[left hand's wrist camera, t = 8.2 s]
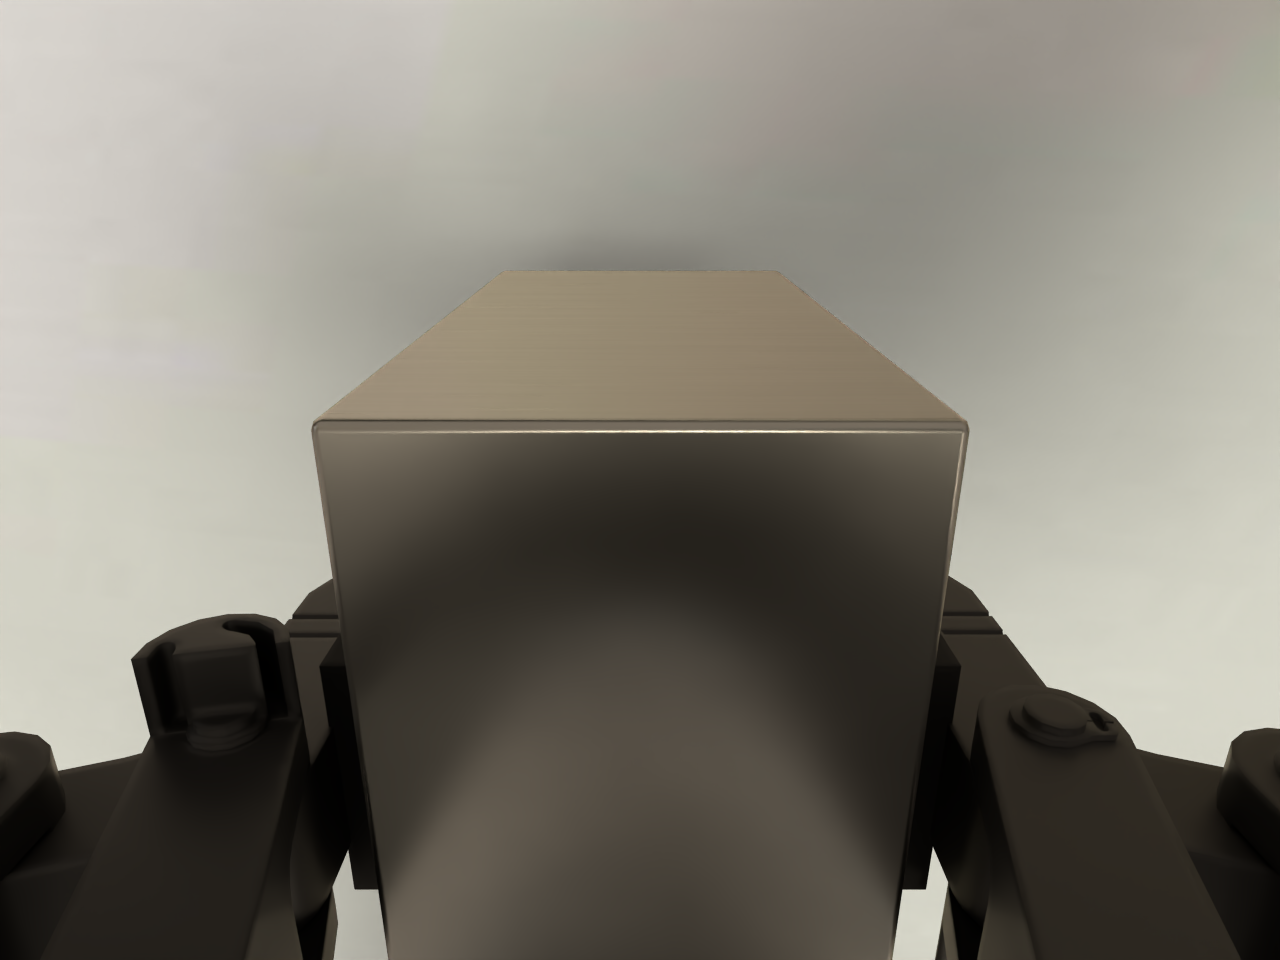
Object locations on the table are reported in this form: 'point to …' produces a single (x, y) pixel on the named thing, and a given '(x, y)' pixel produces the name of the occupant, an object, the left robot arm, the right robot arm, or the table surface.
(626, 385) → the bar
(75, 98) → the table surface
